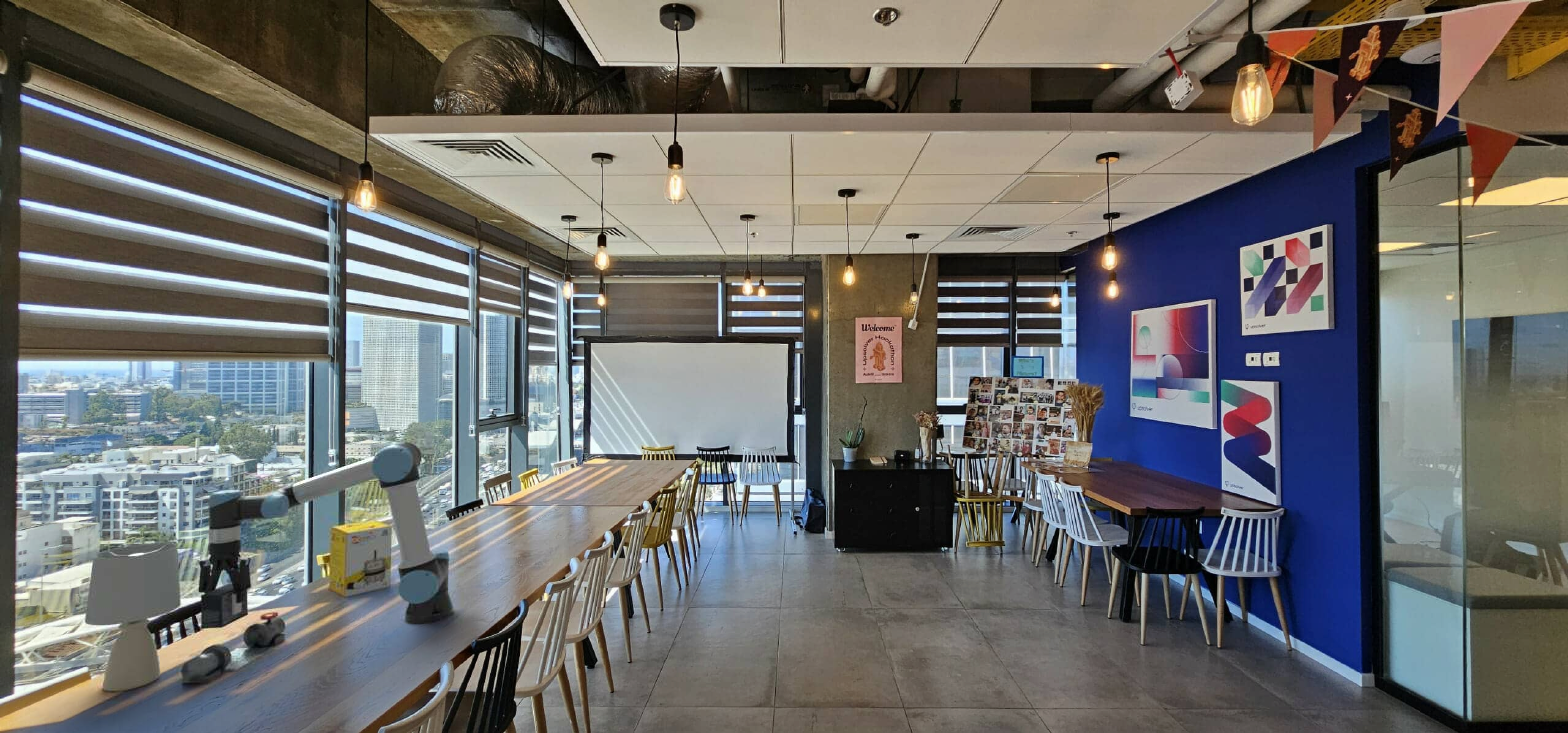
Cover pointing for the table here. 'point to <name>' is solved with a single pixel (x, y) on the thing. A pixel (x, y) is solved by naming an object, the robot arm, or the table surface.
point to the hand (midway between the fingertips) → (224, 613)
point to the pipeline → (235, 651)
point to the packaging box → (360, 557)
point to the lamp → (133, 607)
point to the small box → (220, 607)
